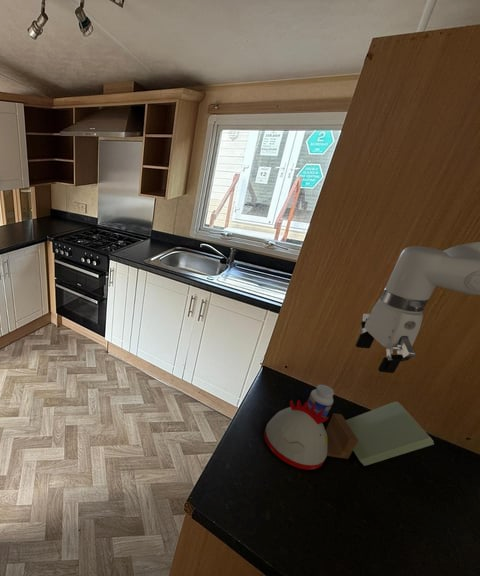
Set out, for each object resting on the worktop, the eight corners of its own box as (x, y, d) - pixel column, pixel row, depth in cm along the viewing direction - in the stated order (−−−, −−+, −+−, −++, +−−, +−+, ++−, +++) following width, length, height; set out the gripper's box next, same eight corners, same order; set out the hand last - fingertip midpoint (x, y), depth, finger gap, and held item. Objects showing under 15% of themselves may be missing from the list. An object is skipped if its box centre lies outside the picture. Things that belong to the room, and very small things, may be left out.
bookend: (332, 432, 86) (341, 414, 83) (348, 459, 79) (358, 440, 76) (312, 429, 87) (321, 411, 84) (326, 455, 80) (336, 437, 77)
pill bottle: (299, 411, 93) (309, 386, 88) (310, 404, 95) (320, 380, 91) (318, 424, 88) (330, 399, 84) (329, 417, 91) (341, 392, 86)
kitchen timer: (312, 481, 74) (333, 437, 67) (254, 441, 83) (268, 400, 77) (332, 447, 82) (353, 406, 75) (277, 414, 91) (292, 375, 85)
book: (402, 406, 80) (397, 400, 80) (435, 443, 71) (430, 437, 70) (341, 429, 87) (336, 423, 86) (364, 466, 77) (359, 460, 77)
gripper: (452, 321, 64) (414, 384, 71) (396, 285, 79) (369, 340, 87) (410, 317, 65) (377, 380, 72) (362, 283, 80) (339, 337, 88)
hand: (373, 358), depth 79 cm, fingers open, 9 cm apart
